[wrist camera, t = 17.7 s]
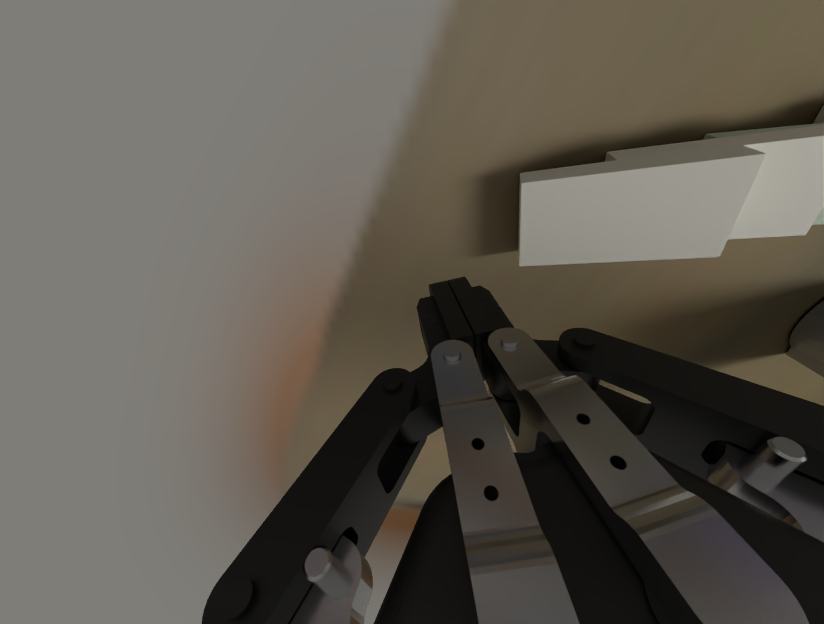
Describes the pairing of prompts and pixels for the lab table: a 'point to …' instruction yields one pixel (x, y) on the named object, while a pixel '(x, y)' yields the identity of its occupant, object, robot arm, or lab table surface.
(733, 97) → the lab table surface
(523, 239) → the domino
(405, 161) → the lab table surface
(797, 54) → the lab table surface
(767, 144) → the domino
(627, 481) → the robot arm
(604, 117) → the lab table surface
